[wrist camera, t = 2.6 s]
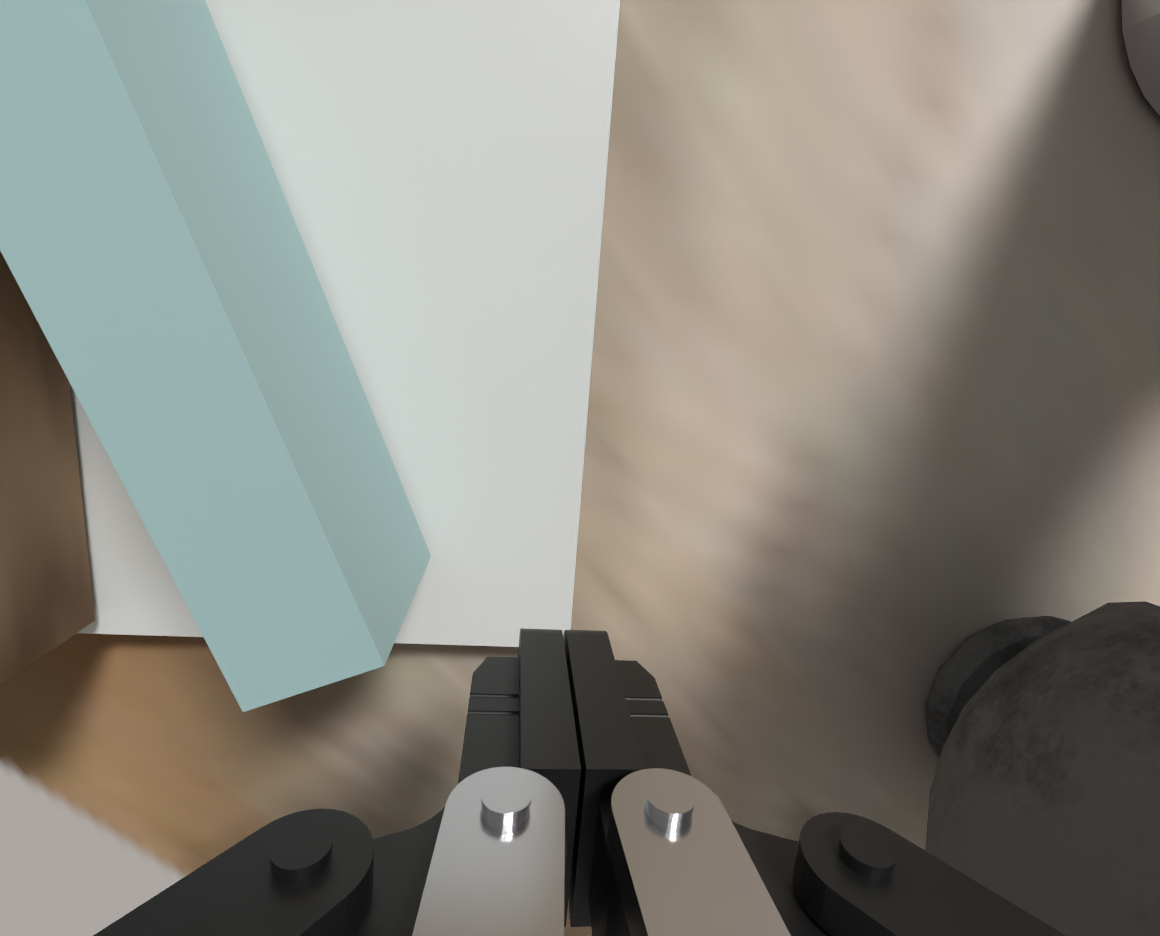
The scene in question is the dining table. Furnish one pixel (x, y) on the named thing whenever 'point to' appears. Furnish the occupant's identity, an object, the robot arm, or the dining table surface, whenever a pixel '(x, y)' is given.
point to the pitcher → (1054, 767)
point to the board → (429, 284)
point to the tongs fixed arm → (37, 494)
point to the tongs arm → (201, 338)
